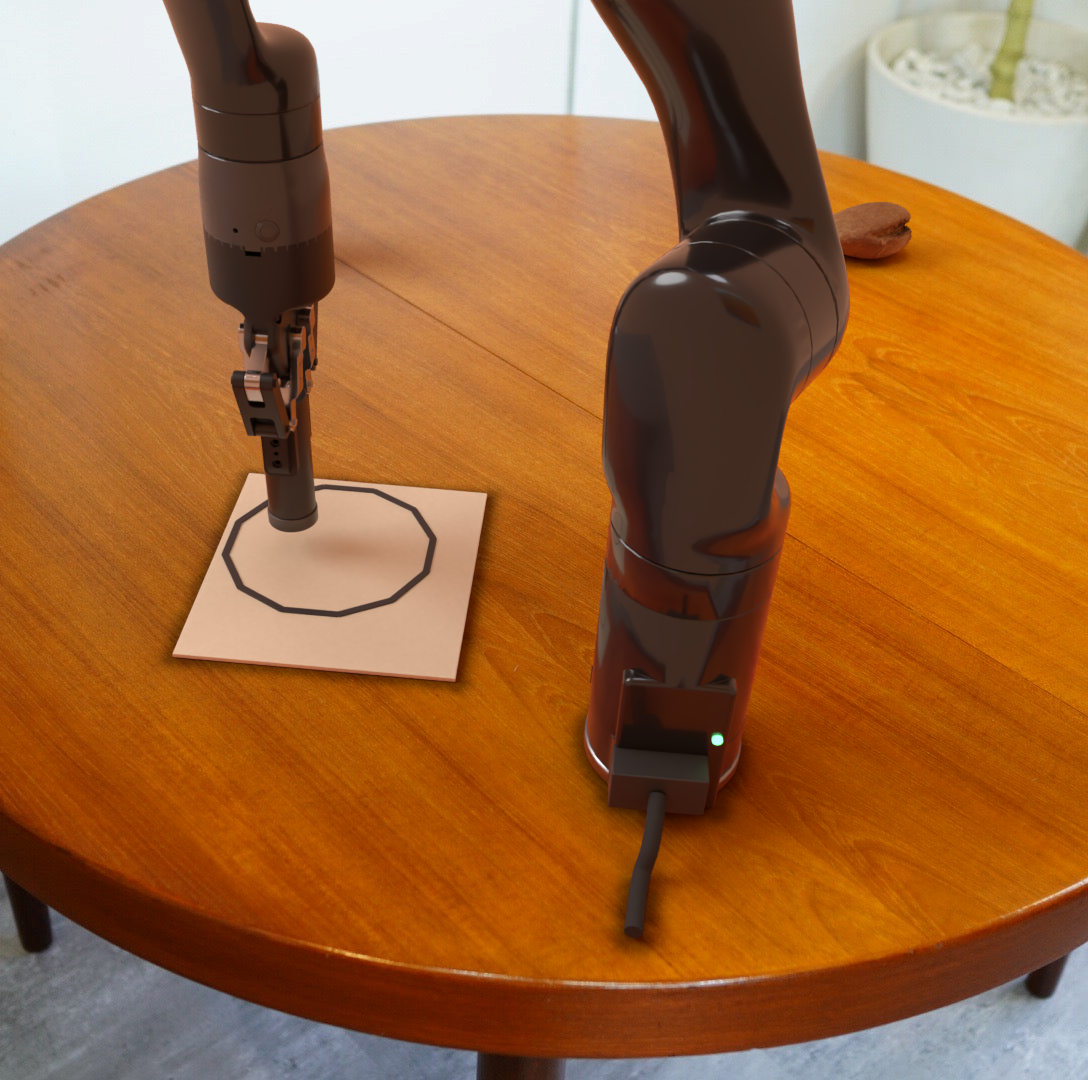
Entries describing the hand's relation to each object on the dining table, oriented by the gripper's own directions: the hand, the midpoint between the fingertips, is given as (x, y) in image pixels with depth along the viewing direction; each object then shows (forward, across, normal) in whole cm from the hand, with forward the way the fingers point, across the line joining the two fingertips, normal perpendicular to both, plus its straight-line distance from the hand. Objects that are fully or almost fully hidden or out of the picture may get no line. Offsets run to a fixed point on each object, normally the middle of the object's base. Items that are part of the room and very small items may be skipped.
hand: (288, 456), depth 88 cm
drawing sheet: (+8, +2, +4) cm, 9 cm away
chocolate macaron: (+8, -56, +46) cm, 73 cm away
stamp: (+5, 0, 0) cm, 5 cm away
